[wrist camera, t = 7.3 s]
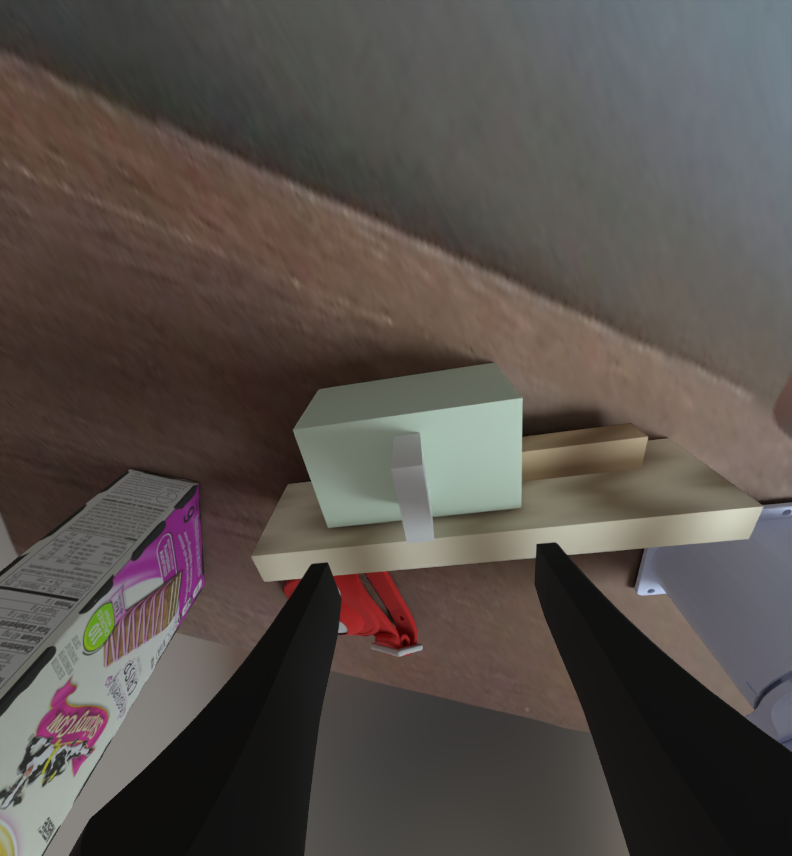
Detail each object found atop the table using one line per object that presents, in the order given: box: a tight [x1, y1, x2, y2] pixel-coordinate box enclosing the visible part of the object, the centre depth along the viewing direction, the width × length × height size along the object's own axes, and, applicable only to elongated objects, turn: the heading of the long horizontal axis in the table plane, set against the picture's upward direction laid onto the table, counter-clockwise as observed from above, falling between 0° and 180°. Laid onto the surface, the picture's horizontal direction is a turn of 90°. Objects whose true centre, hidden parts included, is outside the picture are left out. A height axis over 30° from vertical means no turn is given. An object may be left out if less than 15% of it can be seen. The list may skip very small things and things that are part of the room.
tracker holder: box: [284, 571, 423, 656], centre depth 26 cm, size 12×4×10 cm
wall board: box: [251, 423, 764, 582], centre depth 18 cm, size 24×4×6 cm, turn 99°
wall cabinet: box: [293, 363, 522, 544], centre depth 17 cm, size 10×6×8 cm, turn 99°
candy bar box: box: [0, 469, 205, 856], centre depth 18 cm, size 11×5×16 cm, turn 167°
